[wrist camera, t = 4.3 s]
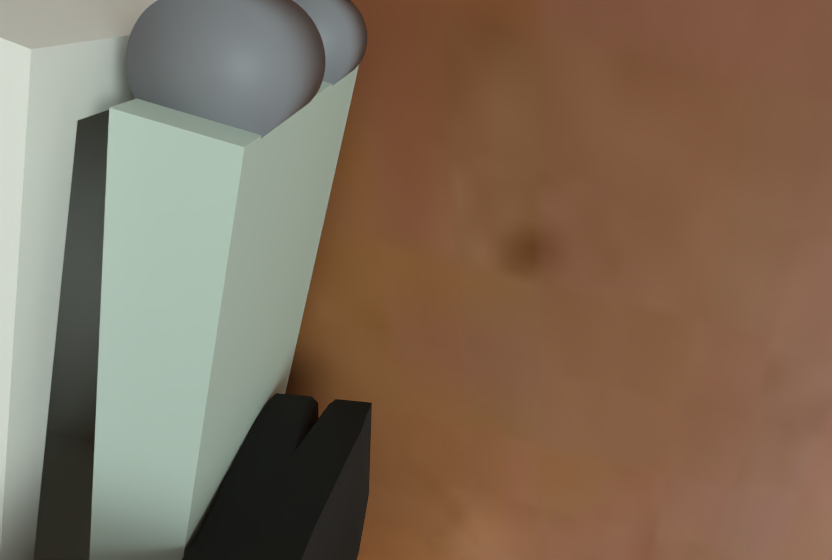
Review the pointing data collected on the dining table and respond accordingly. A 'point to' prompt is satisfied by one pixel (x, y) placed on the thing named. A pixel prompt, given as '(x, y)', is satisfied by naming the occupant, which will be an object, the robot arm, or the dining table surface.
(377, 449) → the dining table surface
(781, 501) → the dining table surface
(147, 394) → the cabinet door
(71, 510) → the cabinet
